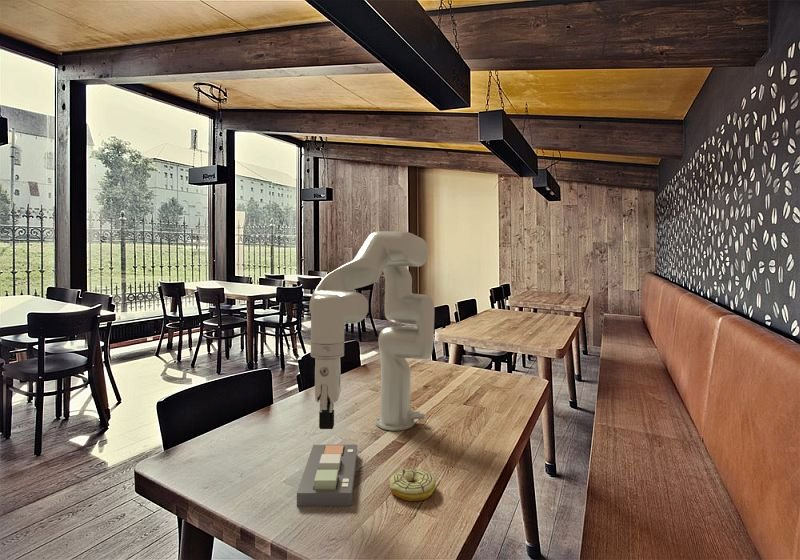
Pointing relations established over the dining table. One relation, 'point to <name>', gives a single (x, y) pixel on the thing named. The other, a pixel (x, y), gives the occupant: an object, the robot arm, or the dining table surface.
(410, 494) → the decorated donut
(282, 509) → the dining table surface
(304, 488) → the keypad
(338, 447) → the terracotta key
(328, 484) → the sage key
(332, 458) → the grey key
